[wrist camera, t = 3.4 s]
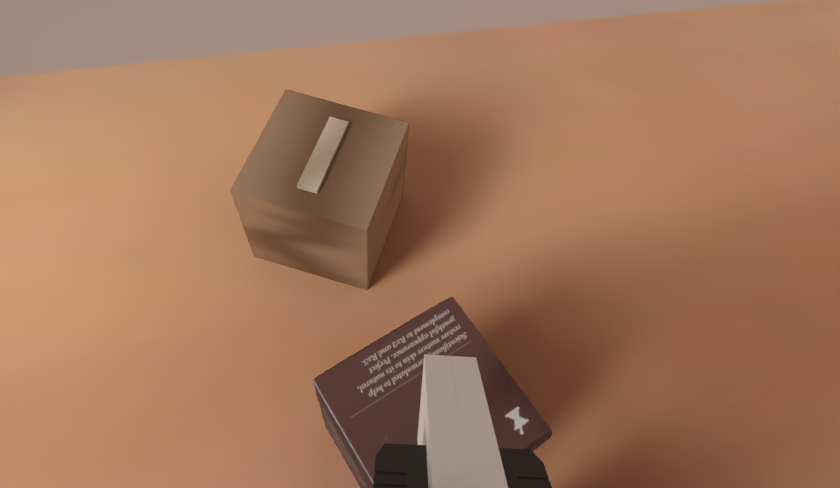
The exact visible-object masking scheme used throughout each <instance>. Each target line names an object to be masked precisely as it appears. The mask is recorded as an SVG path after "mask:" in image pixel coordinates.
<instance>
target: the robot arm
mask: <svg viewBox="0 0 840 488" xmlns="http://www.w3.org/2000/svg"><path fill="white" fill-rule="evenodd" d="M417 441H418V445H409V444H390V443H385V444H384V445H383V447H382V448H381V449H380V451H379V452H378V453H377V455H376V456H375V467H374V479H373V488H552V487H551V484H550V481H549V480H548V475H547V472H546V470H545V467H544V464H543V462H542V461H541V460H540V459H539V458H538V457H537V456H536V455H535V454H534V453H533V452H532V451H531V450H530V449H515V448H498V444H497V440H496V436H495V432H494V428H493V424H492V420H491V416H490V412H489V408H488V404H487V400H486V396H485V392H484V388H483V384H482V379H481V375H480V371H479V367H478V363H477V359H476V357H461V356H444V355H427V354H424V364H423V376H422V388H421V400H420V412H419V424H418V436H417Z"/></svg>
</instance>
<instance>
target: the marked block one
mask: <svg viewBox="0 0 840 488" xmlns="http://www.w3.org/2000/svg"><path fill="white" fill-rule="evenodd" d="M408 128H409V123H407V122H404V121H400V120H396V119H393V118H389V117H385V116H382V115H378V114H374V113H371V112H367V111H364V110H360V109H356V108H353V107H349V106H345V105H342V104H338V103H334V102H331V101H327V100H324V99H320V98H316V97H313V96H309V95H305V94H302V93H298V92H294V91H291V90H287V89H286V90H285V92H284V94H283V95H282V97H281V99H280V101H279V103H278V104H277V106H276V108H275V110H274V112H273V114H272V115H271V117H270V119H269V121H268V123H267V124H266V126H265V128H264V130H263V132H262V133H261V135H260V137H259V139H258V141H257V143H256V144H255V146H254V148H253V150H252V152H251V153H250V155H249V157H248V159H247V161H246V163H245V164H244V166H243V168H242V170H241V172H240V173H239V175H238V177H237V179H236V181H235V183H234V184H233V186H232V188H231V190H230V191H231V194H232V196H233V199H234V202H235V205H236V207H237V210H238V213H239V216H240V219H241V221H242V224H243V227H244V230H245V232H246V235H247V238H248V241H249V243H250V246H251V249H252V252H253V255H254V257H258V258H261V259H264V260H268V261H271V262H274V263H278V264H281V265H284V266H288V267H291V268H295V269H298V270H301V271H305V272H308V273H311V274H315V275H318V276H321V277H325V278H328V279H331V280H335V281H338V282H342V283H345V284H348V285H352V286H355V287H358V288H362V289H365V290H368V287H369V285H370V282H371V279H372V276H373V274H374V271H375V268H376V266H377V263H378V260H379V258H380V255H381V252H382V249H383V247H384V244H385V241H386V239H387V236H388V233H389V231H390V228H391V225H392V222H393V220H394V217H395V214H396V212H397V209H398V206H399V203H400V201H401V198H402V195H403V186H404V174H405V163H406V151H407V140H408Z"/></svg>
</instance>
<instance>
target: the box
mask: <svg viewBox="0 0 840 488" xmlns="http://www.w3.org/2000/svg"><path fill="white" fill-rule="evenodd" d="M424 354H427V355H444V356H461V357H476V359H477V363H478V367H479V371H480V375H481V379H482V384H483V388H484V392H485V396H486V400H487V404H488V408H489V412H490V416H491V420H492V424H493V428H494V432H495V436H496V440H497V444H498V448H515V449H530V450H531V451H533V450H535V449H536V448H537V447H539V446H540V445H541V444H543V443H544V442H545V441H547V440H548V439H549V438H550V437H551V435H552V430H551V428H550V427H549V426H548V424H547V423H546V422H545V420H544V419H543V418H542V417H541V415H540V414H539V413H538V411H537V410H536V409H535V407H534V406H533V405H532V403H531V402H530V400H529V399H528V398H527V396H526V395H525V394H524V393H523V391H522V390H521V389H520V387H519V386H518V384H517V383H516V381H515V380H514V379H513V378H512V376H511V375H510V374H509V372H508V371H507V370H506V368H505V367H504V365H503V364H502V363H501V361H500V360H499V359H498V357H497V356H496V355H495V353H494V352H493V351H492V349H491V348H490V346H489V345H488V344H487V342H486V341H485V340H484V338H483V337H482V336H481V334H480V333H479V331H478V330H477V329H476V327H475V326H474V325H473V323H472V322H471V320H470V319H469V318H468V316H467V315H466V314H465V312H464V311H463V310H462V308H461V307H460V306H459V304H458V303H457V302H456V300H455V299H454V298H453V297H450V298H448V299H446V300H444V301H442V302H440V303H439V304H437V305H436V306H434V307H432V308H430V309H429V310H427V311H425V312H423V313H422V314H420V315H418V316H416V317H415V318H413V319H411V320H410V321H408V322H406V323H405V324H403V325H402V326H400V327H398V328H397V329H395V330H393V331H391V332H390V333H388V334H387V335H385V336H383V337H382V338H380V339H378V340H377V341H375V342H373V343H372V344H370V345H368V346H367V347H365V348H363V349H362V350H360V351H358V352H357V353H355V354H354V355H352V356H350V357H348V358H347V359H345V360H343V361H342V362H340V363H338V364H337V365H335V366H334V367H332V368H330V369H328V370H327V371H325V372H324V373H322V374H321V375H319V376H318V377H316V378H315V379H314V381H313V383H314V386H315V389H316V394H317V397H318V401H319V403H320V406H321V410H322V414H323V418H324V421H325V425H326V428H327V430H328V431H329V433H330V435H331V437H332V438H333V440H334V442H335V444H336V446H337V447H338V449H339V451H340V452H341V454H342V456H343V458H344V459H345V461H346V463H347V464H348V466H349V468H350V470H351V471H352V473H353V475H354V476H355V478H356V480H357V482H358V484H359V485H360V487H361V488H373V479H374V467H375V456H376V455H377V453H378V452H379V451H380V449H381V448H382V447H383V445H384V444H385V443H390V444H409V445H418V441H417V436H418V424H419V412H420V400H421V388H422V376H423V364H424Z"/></svg>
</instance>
